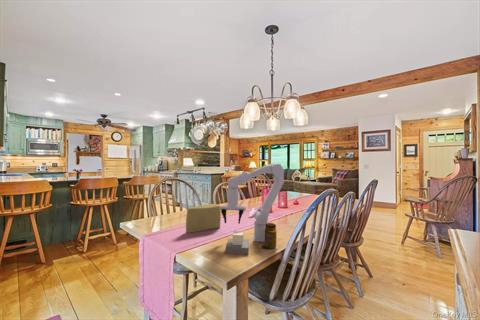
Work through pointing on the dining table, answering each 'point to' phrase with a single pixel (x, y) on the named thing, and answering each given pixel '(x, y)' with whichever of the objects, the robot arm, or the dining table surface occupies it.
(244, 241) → the base
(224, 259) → the dining table surface
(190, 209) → the olive rectangular box
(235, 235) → the cube
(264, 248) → the condiment
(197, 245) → the dining table surface
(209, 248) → the dining table surface
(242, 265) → the dining table surface
